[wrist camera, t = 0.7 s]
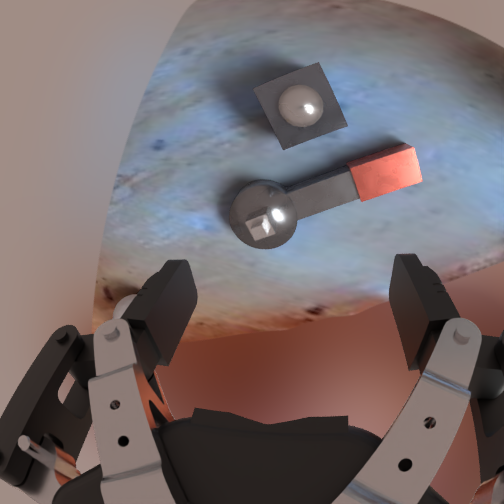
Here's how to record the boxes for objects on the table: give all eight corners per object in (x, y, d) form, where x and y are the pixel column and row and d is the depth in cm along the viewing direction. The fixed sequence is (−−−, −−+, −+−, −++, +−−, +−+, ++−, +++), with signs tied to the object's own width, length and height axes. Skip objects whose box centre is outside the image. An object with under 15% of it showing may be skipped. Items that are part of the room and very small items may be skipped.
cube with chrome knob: (314, 70, 22) (318, 61, 17) (337, 120, 24) (348, 126, 19) (261, 91, 24) (251, 88, 19) (286, 140, 26) (282, 151, 21)
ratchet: (400, 127, 23) (421, 135, 19) (417, 188, 26) (437, 207, 21) (223, 194, 30) (208, 213, 26) (251, 246, 33) (242, 272, 29)
